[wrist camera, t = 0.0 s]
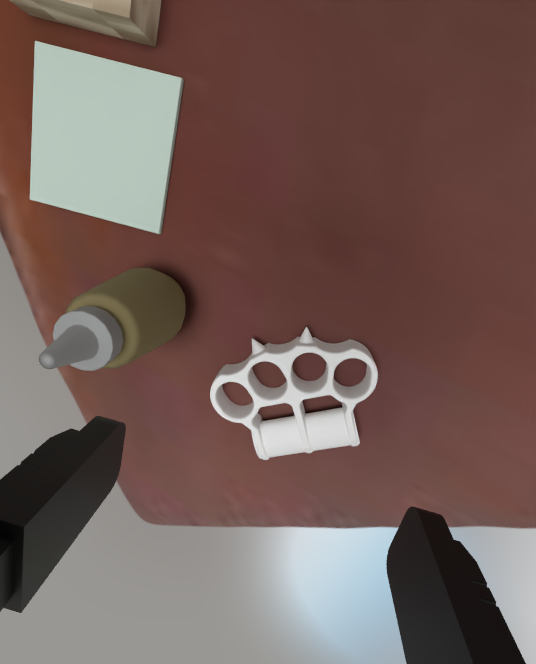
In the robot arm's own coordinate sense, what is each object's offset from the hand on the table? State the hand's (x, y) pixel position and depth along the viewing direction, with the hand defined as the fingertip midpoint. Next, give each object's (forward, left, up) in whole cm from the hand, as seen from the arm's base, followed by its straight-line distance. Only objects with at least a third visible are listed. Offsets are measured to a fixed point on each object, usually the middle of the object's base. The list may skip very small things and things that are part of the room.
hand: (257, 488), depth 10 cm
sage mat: (-9, -22, -29) cm, 38 cm away
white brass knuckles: (+11, +3, -30) cm, 32 cm away
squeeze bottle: (+5, -14, -30) cm, 33 cm away
